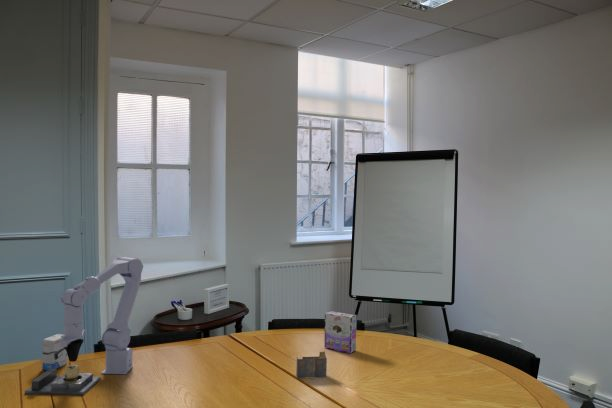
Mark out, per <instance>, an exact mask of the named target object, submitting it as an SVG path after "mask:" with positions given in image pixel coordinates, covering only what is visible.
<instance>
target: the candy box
mask: <svg viewBox="0 0 612 408" xmlns="http://www.w3.org/2000/svg"><path fill="white" fill-rule="evenodd" d="M357 318H358V317H357V314H351V313H347V312H346V313H345V312H339V311H333V310H329V311H327V312H325V313H324V347H325V348H329V349H328V350H331V349H334V350H333V351H335V350H338V351H337V352H340V351H342V352H341V353H345V352H347V353H346V354H350V353H351V354H352V352H353V353H354V352H356V351H357V323H358V322H357ZM324 347H323V348H324ZM325 348H324V349H325ZM355 350H356V351H355Z"/></svg>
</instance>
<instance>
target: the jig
mask: <svg viewBox="0 0 612 408" xmlns="http://www.w3.org/2000/svg"><path fill="white" fill-rule="evenodd" d="M57 371H58V368H57V369H49V370H45V372H43V373H42V374H40V375H38V376H37V377H36V378H34V379H33V380H31V386H30V387H28V388H26V389H25V391H24V395H52V396H53V395H56V396H57V395H61V396H63V395H65V396H67V395H69V396H84V395H85V394H86V393H88V392H89V391H90V390H91V389H92V388H93V387H94V386H95V385H96V384H97V383H98V382H99V381H100V380H101V376H94V373H93V372H79V380H76V381H65V373H64V374H62V375H57Z"/></svg>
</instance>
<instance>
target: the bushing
mask: <svg viewBox="0 0 612 408" xmlns="http://www.w3.org/2000/svg"><path fill="white" fill-rule="evenodd" d="M79 371H80V366H79V365H78V364H69V365H66V366H65V367H64V374H65V381H76V380H79V373H80V372H79Z"/></svg>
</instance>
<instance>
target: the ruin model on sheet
mask: <svg viewBox="0 0 612 408" xmlns="http://www.w3.org/2000/svg"><path fill="white" fill-rule="evenodd" d="M318 354H319V355H318V356H302V357H301V358H299V357H298V356H296V373H295V374H296V378H297V379H306V378H305V377H317V378H327V371H328V370H327V363H328V362H327V361H328V359H327V356H326V350H324V351H319V353H318Z"/></svg>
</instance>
